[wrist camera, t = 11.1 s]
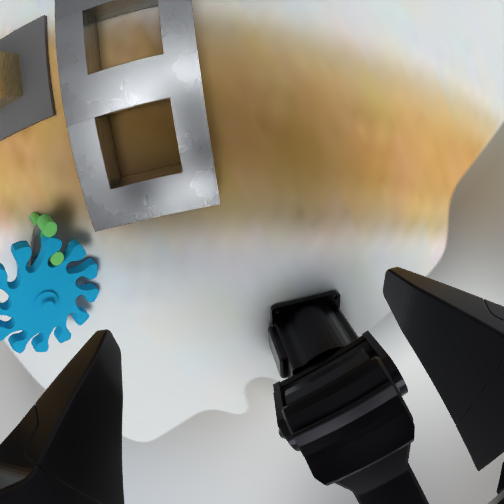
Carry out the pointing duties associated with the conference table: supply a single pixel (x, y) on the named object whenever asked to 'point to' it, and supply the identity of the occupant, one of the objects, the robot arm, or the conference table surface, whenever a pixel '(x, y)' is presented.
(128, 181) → the grey cinder block
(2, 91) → the brass peg
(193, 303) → the conference table surface
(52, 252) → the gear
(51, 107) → the rubber pad
